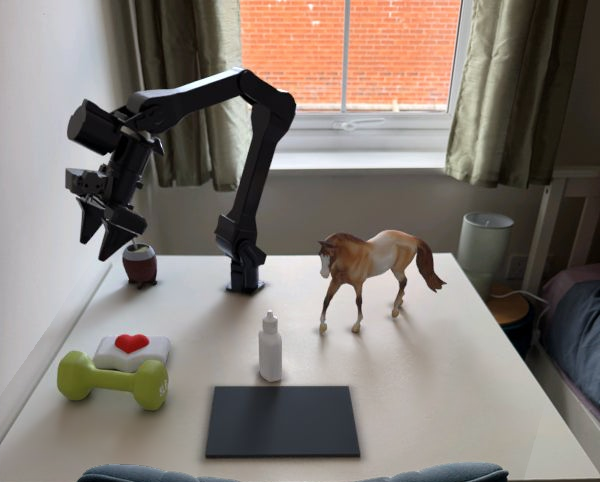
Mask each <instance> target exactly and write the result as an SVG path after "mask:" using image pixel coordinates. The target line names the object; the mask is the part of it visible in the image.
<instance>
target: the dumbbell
mask: <svg viewBox="0 0 600 482" xmlns="http://www.w3.org/2000/svg"><path fill="white" fill-rule="evenodd" d="M56 372H57V373H56V388H57V389H58V391H59V392H60V394H61V395H62V396H63V397H65V398H66V399H67V400H70V401H82V400H84V399H85V398H87V396H88V395H89V394H90V392H91V391H92V390H93V389H102V390H111V391H117V392H125V393H126V392H127V393H131V394H132V395H133V398H134V401H135V402H136V404H137V405H138V406H139V407H140V408H141V409H143V410H145V411H152V412H153V411H158V410H159V409H160V408H161V406H162V404H163V403H164V402H165V400H166V398H167V396H168V392H169V381H170V379H169V378H170V377H169V372H168V370H167V368H166V366H165V365H163V364H162V362H160V361H157V360H147V361H145V362H144V363H143V364H142V365H141V366H140V367H139V368H138V370H137V371H136V372H133V373H126V372H121V371H119V370H113V369H99V368H97V367H96V366H95V363H94V362H93V358H91V357H90V356H89V355H88V353H86V352H84V351H80V350H70V351H68V353H67V354H66V355H64V356H63V358H62V359H61V360H60V361H59V363H58V366H57V370H56Z"/></svg>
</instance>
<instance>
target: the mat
mask: <svg viewBox="0 0 600 482" xmlns="http://www.w3.org/2000/svg"><path fill="white" fill-rule="evenodd" d="M210 411H211V412H210V418H209V424H208V433H207V440H206V448H205V453H204V456H205V459H251V458H252V459H255V458H256V459H258V458H259V459H261V458H263V459H265V458H267V459H271V458H273V459H275V458H281V459H282V458H360V457H361V450H360V444H359V438H358V433H357V426H356V421H355V417H354V409H353V404H352V398H351V392H350V387H349V386H348V385H231V386H230V385H219V386H218V385H215V386H214V390H213V396H212V404H211V410H210Z"/></svg>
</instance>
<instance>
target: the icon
mask: <svg viewBox="0 0 600 482" xmlns="http://www.w3.org/2000/svg"><path fill="white" fill-rule="evenodd" d="M170 348H171V341H170V338H169V337H167V336H166V335H145V334H141V333H138V334H133V335H130V334H126V333H123V334H120V335H105V336H103V337H102V338H101V340H100V342H99V344H98V346H97V349H96V351H95V353H94V355H93V358H92V361H93V362H94V363H95V367H96V369H100V370H116V371H119V372H126V373H136V371H137V370H138V368H139V367H140V366H141V365H142V364H143V363H144V362H145V361H147V360H157V361H160V362H162V364H163V365H164V366H165V365H166V363H167V359H168V356H169V352H170Z"/></svg>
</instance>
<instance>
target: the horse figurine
mask: <svg viewBox="0 0 600 482" xmlns="http://www.w3.org/2000/svg"><path fill="white" fill-rule="evenodd" d="M317 243H318V244H319V245H321V247H320V249H319V251H318V253H317V254H318V257H319V258H320V263H321V267H320V268H321V269H320V270H319V274H320V276H321V277H322V278H323V279H329V277H331V280H330V282H329V285H328V287H327V291H326V295H325V296H324V299H323V303H322V310H321V313H320V317H319V322H320V323H319V326H318V327H319V328H318V329H319V333H322V334H323V333H325V332H326V331H327V330H328V324H327V323H326V320H327V319H326V315H327V311H328V308H329V306H330V304H331V301H332V300H333V299H334V296H335V295H336V293H338V291H339V290H340V288H341V287H342V286H343V285H349V286H352V287H353V290H354V292H355V296H356V297H355V305H356V307H357V319H356V321H355V322H354V323H353V325H352V326H351V327H352V328H351V332H353V333H357V332H359V331H360V330H361V327H362V326H361V322H362V321H363V319H364V315H363V309H362V307H363V285H364V283H365V282H366V281H367V280H368V279H370V278H375V277H378V276H381V275H384V274H385V273H386V272H388V271H389V270H390V271H391V272H392V274H393V276H394V277H395V279H396V280H397V281H398V292H397V294H396V297H395V299H394V301H393V308H392V310H391V317H392V319H397V318H398V317H399V316H400V308H399V307H401V306H402V305H403V304H404V299H403V297H404V296H405V294H406V292H405V289H406V287H407V285H408V277H407V276H406V274H405V273H406V271H405V270H406V269H407V268H408V267H409V266H410V264H411V263H412V262H413V261H414V259H415V265H416V268H417V270H418V273H419V275H420V276H421V277H422V279H423V280H424V281H425V282H424V283H425V284H426V286H427V288H428V289H430V290H431V291H432V292H434V293H435V294H437V293H438V291H439V290H442V289H443V286H444V285H448V282H446V281H444V280H442V278H441V277H439V275H438V274H437V273H436V271H435V263H434V255H433V251H432V249H431V247H430V246H429V245H428V244H427V242H426V241H424V240H423V239H422V238H420V237H418V236H416V235H412V234H411V235H410V234H408V233H406V232H404V231H401V230H395V229H386V230H383V231H381V232H379V233H377V234H376V235H375V236H373V237H372V238H370V239H368V240H365V239H363V238H360V237H359V236H356V235H354V234H352V233H350V232H347V231H337V232H334V233H333V234H331V235H329V236H328V237H327V238H325V240H318V241H317Z"/></svg>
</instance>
